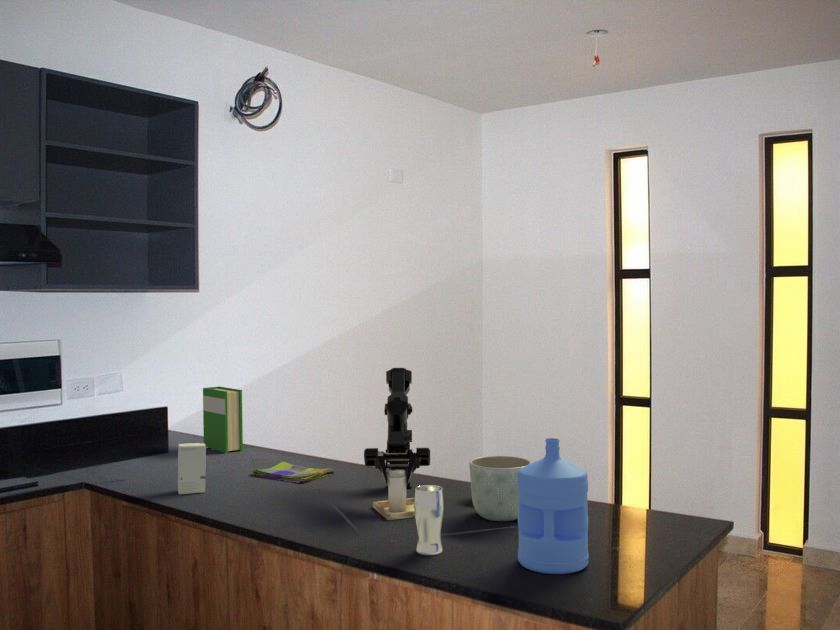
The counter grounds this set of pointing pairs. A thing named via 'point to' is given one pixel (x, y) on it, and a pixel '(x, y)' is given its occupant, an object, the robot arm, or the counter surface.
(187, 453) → the skincare box
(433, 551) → the beer glass
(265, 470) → the dish towel
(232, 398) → the hardback book
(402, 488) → the ball
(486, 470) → the planter
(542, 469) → the water jug
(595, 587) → the counter surface
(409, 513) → the tray
